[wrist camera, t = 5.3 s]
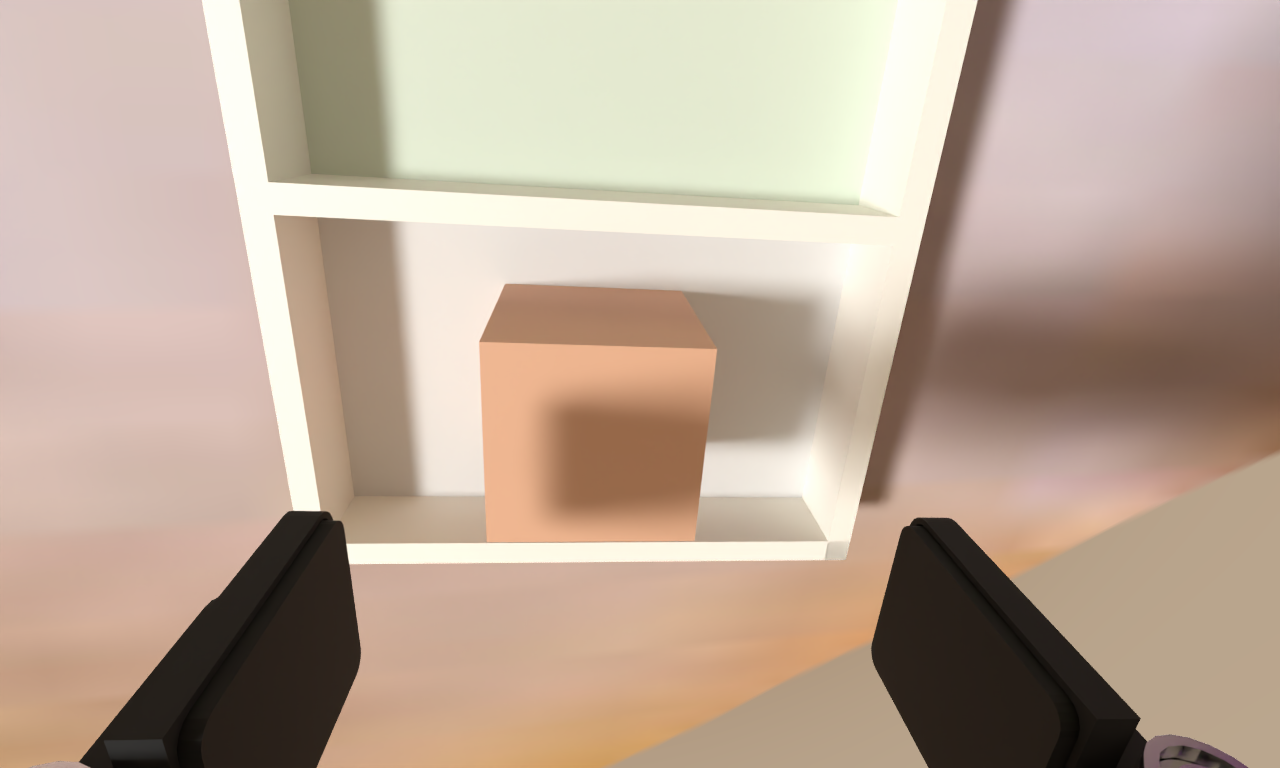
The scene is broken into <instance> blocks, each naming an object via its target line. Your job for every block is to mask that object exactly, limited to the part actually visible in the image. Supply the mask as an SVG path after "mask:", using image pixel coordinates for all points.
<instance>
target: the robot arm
mask: <svg viewBox="0 0 1280 768" xmlns="http://www.w3.org/2000/svg"><path fill="white" fill-rule="evenodd" d="M871 649H872V650H871V651H872V659H873V663H874V666H875V668H876V670H877V672H878V674H879V676H880V678H881V679H882V681H883V683H884V685H885V687H886V689H887V691H888V692H889V694H890V696H891V698H892V700H893V702H894V704H895V705H896V707H897V709H898V711H899V713H900V715H901V717H902V719H903V721H904V723H905V724H906V726H907V728H908V730H909V732H910V734H911V736H912V737H913V739H914V741H915V743H916V745H917V747H918V749H919V751H920V753H921V754H922V756H923V758H924V760H925V762H926V764H927V766H928V767H929V768H1248V767H1247V766H1245V765H1244V764H1242V763H1241V762H1239V761H1238V760H1236V759H1235V758H1233V757H1232V756H1230V755H1228V754H1226V753H1224V752H1222V751H1220V750H1218V749H1216V748H1214V747H1212V746H1210V745H1208V744H1205V743H1202V742H1199V741H1197V740H1193V739H1191V738H1188V737H1182V736H1176V735H1162V736H1155V737H1154V738H1152V739H1151V740H1149V741H1148V742H1147V741H1146V740H1145V739H1144V738H1143V737H1142V736H1141V734H1140V733H1139V732H1138V731H1137V730H1136V727H1137V725H1138V722H1139V721H1140V717H1139V716H1138V715H1137V714H1136V713H1135V712H1134V711H1133V710H1132V709H1131V708H1130V707H1129V706H1128V705H1127V703H1126V702H1125V701H1123V699H1121V697H1120V696H1119V695H1118V694H1117V693H1116V692H1115V691H1114V690H1113V689H1112V688H1111V687H1110V685H1108V683H1107V682H1106V681H1105V680H1104V679H1103V678H1102V677H1101V676H1100V675H1099V674H1098V673H1097V672H1096V671H1095V670H1094V668H1093V667H1091V665H1090V664H1089V663H1088V662H1087V661H1086V660H1085V659H1084V658H1083V657H1082V656H1081V655H1080V654H1079V652H1078V651H1077V650H1076V649H1075V648H1074V647H1073V646H1072V645H1071V644H1070V643H1069V642H1068V641H1067V640H1066V639H1065V638H1064V637H1063V636H1062V635H1061V633H1060V632H1059V631H1058V630H1057V629H1056V628H1055V627H1054V626H1053V625H1052V624H1051V623H1050V622H1049V621H1048V620H1047V618H1045V616H1044V615H1043V614H1042V613H1041V612H1040V611H1039V610H1038V609H1037V608H1036V607H1035V606H1034V605H1033V604H1032V603H1031V601H1030V600H1029V599H1028V598H1027V597H1026V596H1025V595H1024V594H1023V593H1022V592H1021V591H1020V590H1019V589H1018V588H1017V587H1016V585H1015V584H1014V583H1013V582H1012V581H1011V580H1010V579H1009V578H1008V577H1007V576H1006V575H1005V574H1004V573H1003V572H1002V571H1001V570H1000V568H999V567H998V566H997V565H996V564H995V563H994V562H993V561H992V560H991V559H990V558H989V557H988V556H987V555H986V554H985V552H984V551H983V550H982V549H981V548H980V547H979V546H978V545H977V544H976V543H975V542H974V541H973V540H972V539H971V538H970V537H969V535H968V534H967V533H966V532H965V531H964V530H963V529H962V528H961V527H960V526H959V525H958V524H957V523H956V522H955V521H954V520H952V519H950V518H916V519H914V520H913V521H912V522H911V524H910V526H906V527H904V528H903V530H902V532H901V535H900V539H899V542H898V546H897V550H896V554H895V558H894V561H893V565H892V569H891V573H890V577H889V581H888V584H887V588H886V592H885V596H884V600H883V603H882V607H881V611H880V615H879V619H878V623H877V626H876V630H875V634H874V638H873V642H872V648H871ZM360 657H361V647H360V640H359V633H358V625H357V618H356V611H355V603H354V596H353V589H352V581H351V574H350V567H349V559H348V552H347V545H346V537H345V530H344V525H343V523H342V522H341V521H335V520H333V518H332V516H331V514H330V513H329V512H327V511H289V512H287V513H286V514H285V515H284V516H283V517H282V519H281V520H280V521H279V522H278V524H277V525H276V526H275V527H274V529H273V530H272V531H271V532H270V534H269V535H268V536H267V537H266V539H265V540H264V541H263V542H262V544H261V545H260V546H259V547H258V549H257V550H256V551H255V552H254V554H253V555H252V556H251V557H250V558H249V560H248V561H247V562H246V563H245V565H244V566H243V567H242V568H241V570H240V571H239V572H238V573H237V575H236V576H235V577H234V578H233V580H232V581H231V582H230V583H229V585H228V586H227V587H226V588H225V590H224V591H223V592H222V593H221V595H220V596H219V597H218V598H216V599H214V600H212V601H211V602H210V603H209V604H208V605H207V606H206V607H205V608H204V609H203V610H202V611H201V613H200V614H199V615H198V616H197V617H196V619H195V620H194V621H193V622H192V624H191V625H190V626H189V627H188V629H187V630H186V631H185V632H184V633H183V635H182V636H181V637H180V638H179V640H178V641H177V642H176V643H175V644H174V646H173V647H172V648H171V649H170V651H169V652H168V653H167V654H166V656H165V657H164V658H163V659H162V660H161V662H160V663H159V664H158V665H157V667H156V668H155V669H154V670H153V672H152V673H151V674H150V675H149V676H148V678H147V679H146V680H145V681H144V683H143V684H142V685H141V686H140V688H139V689H138V690H137V691H136V692H135V694H134V695H133V696H132V697H131V699H130V700H129V701H128V702H127V704H126V705H125V706H124V707H123V708H122V710H121V711H120V712H119V713H118V715H117V716H116V717H115V718H114V720H113V721H112V722H111V723H110V724H109V726H108V727H107V728H106V729H105V731H104V732H103V733H102V734H101V735H100V737H99V738H98V739H97V740H96V742H95V743H94V744H93V745H92V747H91V748H90V749H89V750H88V751H87V753H86V754H85V755H84V756H83V758H82V759H81V760H80V761H79V762H64V761H57V762H52V763H47V764H42V765H37V766H32V767H30V768H316V767H317V765H318V763H319V760H320V758H321V756H322V754H323V751H324V749H325V747H326V744H327V742H328V740H329V737H330V735H331V733H332V730H333V728H334V726H335V723H336V721H337V719H338V716H339V714H340V712H341V709H342V707H343V705H344V703H345V700H346V698H347V696H348V693H349V691H350V689H351V686H352V684H353V682H354V679H355V677H356V675H357V672H358V668H359V664H360Z"/></svg>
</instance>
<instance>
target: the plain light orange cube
mask: <svg viewBox="0 0 1280 768" xmlns="http://www.w3.org/2000/svg"><path fill="white" fill-rule="evenodd" d="M479 354H480V380H481V407H482V433H483V459H484V485H485V512H486V538H487V542H605V541H695V533H696V524H697V516H698V507H699V499H700V491H701V482H702V474H703V465H704V457H705V448H706V440H707V431H708V423H709V415H710V406H711V398H712V389H713V381H714V372H715V364H716V356H717V348H716V346H715V345H714V343H713V341H712V340H711V338H710V336H709V335H708V333H707V332H706V330H705V328H704V327H703V325H702V323H701V322H700V320H699V319H698V317H697V315H696V314H695V312H694V310H693V309H692V307H691V306H690V304H689V302H688V301H687V299H686V297H685V296H684V294H683V293H682V291H674V290H649V289H624V288H599V287H574V286H549V285H525V284H505V285H504V287H503V290H502V292H501V294H500V296H499V299H498V301H497V303H496V305H495V308H494V310H493V312H492V314H491V316H490V319H489V321H488V323H487V325H486V328H485V330H484V332H483V334H482V337H481V339H480V341H479Z"/></svg>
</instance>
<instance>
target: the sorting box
mask: <svg viewBox="0 0 1280 768" xmlns="http://www.w3.org/2000/svg"><path fill="white" fill-rule="evenodd" d="M977 1H978V0H202V4H203V9H204V15H205V20H206V26H207V31H208V37H209V43H210V48H211V54H212V59H213V65H214V71H215V76H216V82H217V87H218V93H219V98H220V104H221V110H222V115H223V121H224V126H225V132H226V137H227V143H228V149H229V154H230V160H231V165H232V171H233V176H234V182H235V188H236V193H237V199H238V204H239V210H240V215H241V221H242V227H243V232H244V238H245V243H246V249H247V254H248V260H249V266H250V271H251V277H252V282H253V288H254V293H255V299H256V305H257V310H258V316H259V321H260V327H261V332H262V338H263V344H264V349H265V355H266V360H267V366H268V371H269V377H270V383H271V388H272V394H273V399H274V405H275V410H276V416H277V422H278V427H279V433H280V438H281V444H282V449H283V455H284V461H285V466H286V472H287V477H288V483H289V489H290V494H291V500H292V505H293V511H327V512H329V513H330V514H331V516H332V518H333V520H335V521H341V522H342V523H343V525H344V530H345V537H346V545H347V552H348V559H349V564H413V563H530V562H647V561H765V560H846V556H847V552H848V548H849V544H850V540H851V535H852V531H853V527H854V523H855V518H856V514H857V510H858V506H859V501H860V497H861V493H862V489H863V484H864V480H865V476H866V472H867V467H868V463H869V459H870V455H871V450H872V446H873V442H874V438H875V434H876V429H877V425H878V421H879V417H880V412H881V408H882V404H883V400H884V395H885V391H886V387H887V383H888V378H889V374H890V370H891V366H892V361H893V357H894V353H895V349H896V344H897V340H898V336H899V332H900V328H901V323H902V319H903V315H904V311H905V306H906V302H907V298H908V294H909V289H910V285H911V281H912V277H913V272H914V268H915V264H916V260H917V255H918V251H919V247H920V243H921V238H922V234H923V230H924V226H925V222H926V217H927V213H928V209H929V205H930V200H931V196H932V192H933V188H934V183H935V179H936V175H937V171H938V166H939V162H940V158H941V154H942V149H943V145H944V141H945V137H946V132H947V128H948V124H949V120H950V116H951V111H952V107H953V103H954V99H955V94H956V90H957V86H958V82H959V77H960V73H961V69H962V65H963V60H964V56H965V52H966V48H967V43H968V39H969V35H970V31H971V26H972V22H973V18H974V14H975V10H976V5H977ZM505 284H525V285H549V286H574V287H599V288H624V289H649V290H674V291H682V293H683V294H684V296H685V297H686V299H687V301H688V302H689V304H690V306H691V307H692V309H693V310H694V312H695V314H696V315H697V317H698V319H699V320H700V322H701V323H702V325H703V327H704V328H705V330H706V332H707V333H708V335H709V336H710V338H711V340H712V341H713V343H714V345H715V346H716V348H717V356H716V364H715V372H714V381H713V389H712V398H711V406H710V415H709V423H708V431H707V440H706V448H705V457H704V465H703V474H702V482H701V491H700V499H699V507H698V516H697V524H696V533H695V541H605V542H487V538H486V512H485V485H484V459H483V433H482V407H481V380H480V354H479V341H480V339H481V337H482V334H483V332H484V330H485V328H486V325H487V323H488V321H489V319H490V316H491V314H492V312H493V310H494V308H495V305H496V303H497V301H498V299H499V296H500V294H501V292H502V290H503V287H504V285H505Z"/></svg>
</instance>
